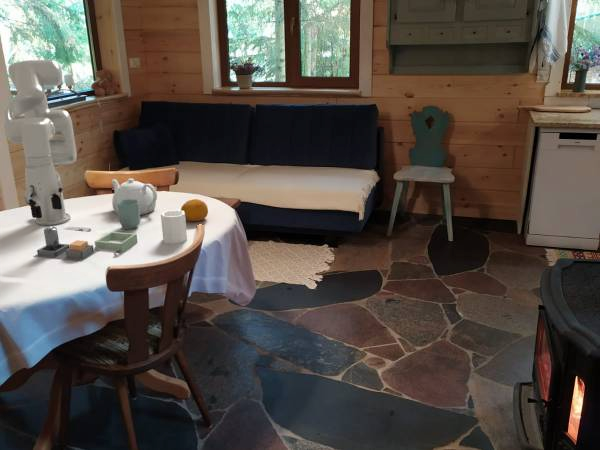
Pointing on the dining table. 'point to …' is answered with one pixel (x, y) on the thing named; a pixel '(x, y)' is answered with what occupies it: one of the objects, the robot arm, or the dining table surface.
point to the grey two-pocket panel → (66, 253)
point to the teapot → (135, 194)
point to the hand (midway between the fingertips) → (47, 213)
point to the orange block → (78, 245)
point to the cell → (51, 238)
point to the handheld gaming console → (78, 229)
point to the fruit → (195, 210)
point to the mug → (174, 226)
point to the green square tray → (121, 247)
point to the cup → (129, 213)
